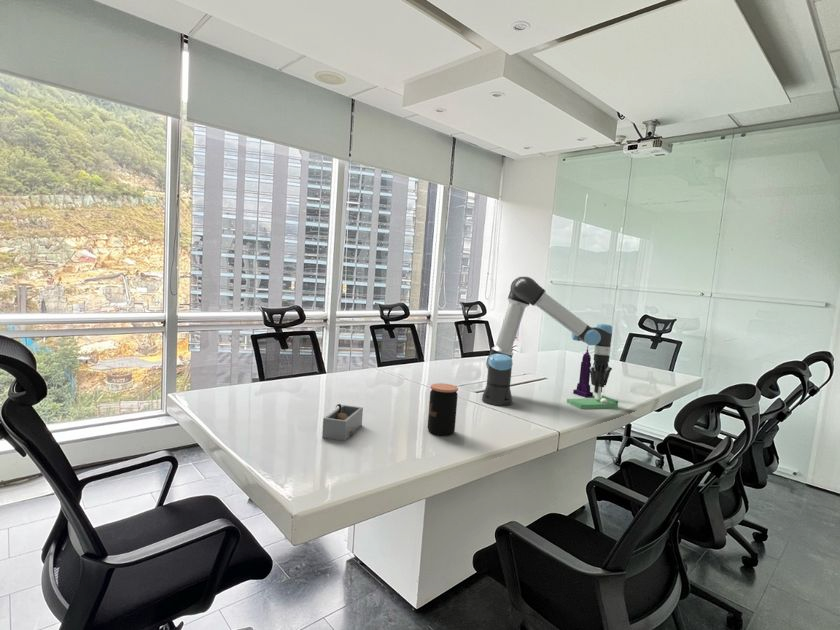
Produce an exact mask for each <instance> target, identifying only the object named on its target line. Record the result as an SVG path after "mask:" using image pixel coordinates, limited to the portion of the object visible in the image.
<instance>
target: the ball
mask: <svg viewBox="0 0 840 630" xmlns="http://www.w3.org/2000/svg"><path fill="white" fill-rule="evenodd" d="M600 402H601V403H607V402H608V401H607V399H605V398H602V399H601V400H600Z"/></svg>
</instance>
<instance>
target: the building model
mask: <svg viewBox="0 0 840 630" xmlns="http://www.w3.org/2000/svg"><path fill="white" fill-rule="evenodd" d="M586 347H587V348H586V351H585V353H583V354H582V355H583V356H582V358H581V359H582V360H581V362H580V371H579V381H578V382H577V385H576V389H573V392H572V393H573V394H574V395H576V396H580V397H583V398H592V397H593V398H594V392H592V391H591V384H590V380H591V374H590V370H589V367H592V363H591V359H592V357H591V355H590V353H589V345H587V346H586Z"/></svg>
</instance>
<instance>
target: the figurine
mask: <svg viewBox="0 0 840 630" xmlns="http://www.w3.org/2000/svg"><path fill="white" fill-rule="evenodd" d="M341 406H342V404H340V403H338V404H337V405H336V406H335V408H339V414H337V415H336V419H338V420H345V419H347V418H348V416H347V415H346V414H345V413H340V410H341ZM350 435H351V436H352V435H354V433H353V431H351V432H350Z"/></svg>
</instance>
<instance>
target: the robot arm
mask: <svg viewBox="0 0 840 630" xmlns="http://www.w3.org/2000/svg"><path fill="white" fill-rule="evenodd" d="M507 300H508V306H507V309H506V312H505V315H504V319H503V321H502V323H501V324H502V325H501V326H500V327H501V328H500V331H499V334H498V336H497V338H496V339H497V340H496V342H495V345H494V346H493V347H491V349H490V353H489V354H488V356H487V359H486V362H485V365H486V368H487V376H486V386H485V389H484V391H483V393H482V396H481V401H482V402H483V403H485V404H488V405H492V406H499V407H500V406H501V407H503V406H504V407H505V406H507V407H508V406H511V405H512V404H513V396H512V392H511V391H512V390H511V383H512V382H511V381H512V380H511V379H512V370H513V359H512V358H513V352H512V349H513V346H514V343H515V340H516V338H517V334H518V331H519V328H520V326H521V322H522V318H523V315H524V312H525V309H526V308H527V307H529V306H530V305H531V306H533V307H534V306H535V307H537V308H539V309H540V310H541V311H543V312H544V313H545V314H547V315H548V316H549V317H551V318H552V319H554V320H555V321H556V322H557V323H558V324H560V325H561V326H563V327H564V328H566V329H567V330H568V331H569V332H571V339H572V340H573V341H577V342H583V343H585V344H587V346H594V351H593V352H594V354H593V364H592V365H591V367H589V370H590V382H591V384H590V385H592V386H594V389H593V390H594V391H593V393H594V396H593V398H595V399H598V400H599V399H600V398H601V397H602V395H601V394H602V392H603V388H604V387H605V386H607V383H608V381H609V377H610V373H611V371H612V369H613V368H612V367H611V366H609V363H610V354H611V346H612V345H611V344H612V337H613V326H612V325H611V324H606V323H598V324H596V326H595V327H591V326H590V325H589V324H587V323H586V322H585V321H584V320H582V319H581V318H580V317H578V316H577V315H576V314H574V313H573V312H571V311H570V310H569V309H567V308H566V307H565V306H563V305H562V304H561V303H559V302H558V301H557V300H555V299H554V298H553V297H551V296H550V295H549V294H547V292H546V289H544V288H543V287H542V286H541V285H539V284H538V283H537V282H536V281H535V279H533V278H531V277H530V276H518V277H516V278H515V279H514V280H513V281H511V284H510V290H509V294H508V296H507Z"/></svg>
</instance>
